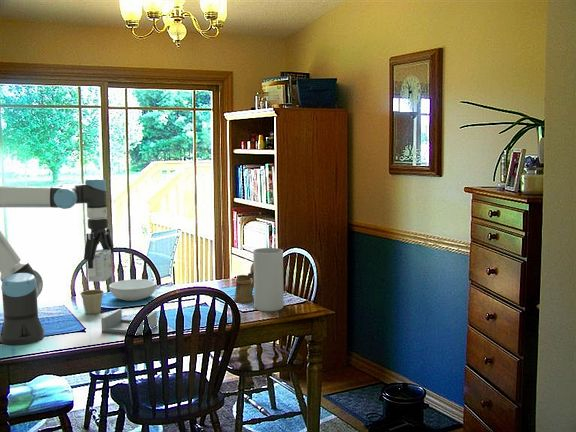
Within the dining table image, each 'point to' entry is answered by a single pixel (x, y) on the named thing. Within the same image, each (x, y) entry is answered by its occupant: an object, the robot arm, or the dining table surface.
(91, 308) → the flower pot
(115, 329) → the end holder
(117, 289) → the serving bowl
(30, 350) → the dining table surface
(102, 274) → the light bulb box
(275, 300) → the cylinder vase
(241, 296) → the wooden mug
